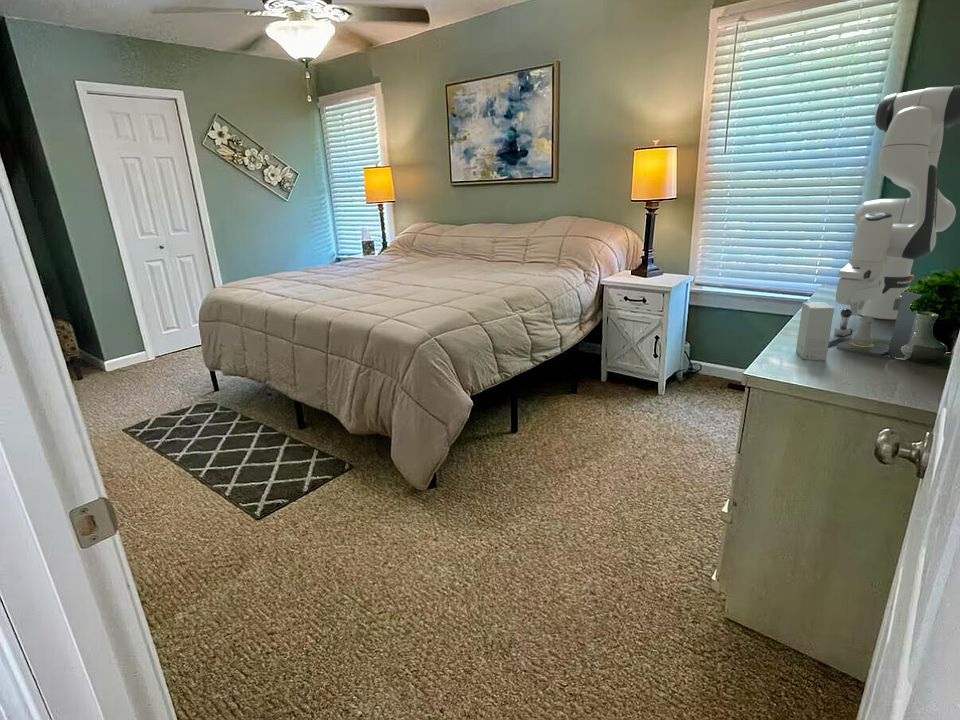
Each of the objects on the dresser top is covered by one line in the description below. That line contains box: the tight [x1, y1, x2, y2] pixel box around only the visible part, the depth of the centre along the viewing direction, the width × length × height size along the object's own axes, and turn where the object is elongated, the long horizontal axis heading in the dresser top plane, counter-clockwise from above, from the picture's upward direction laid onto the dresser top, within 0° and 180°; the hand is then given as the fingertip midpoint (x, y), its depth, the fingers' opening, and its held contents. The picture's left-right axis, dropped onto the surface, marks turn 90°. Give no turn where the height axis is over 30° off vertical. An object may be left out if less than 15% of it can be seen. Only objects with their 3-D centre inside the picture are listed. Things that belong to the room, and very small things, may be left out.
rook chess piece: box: [853, 315, 875, 345], centre depth 145 cm, size 4×4×8 cm
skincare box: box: [795, 301, 835, 362], centre depth 141 cm, size 8×6×15 cm
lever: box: [833, 308, 853, 336], centre depth 153 cm, size 4×3×8 cm
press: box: [828, 291, 922, 359], centre depth 143 cm, size 15×20×18 cm
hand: (855, 314), depth 156 cm, fingers closed
